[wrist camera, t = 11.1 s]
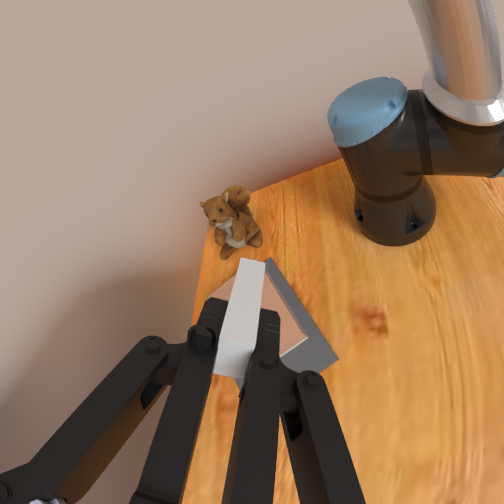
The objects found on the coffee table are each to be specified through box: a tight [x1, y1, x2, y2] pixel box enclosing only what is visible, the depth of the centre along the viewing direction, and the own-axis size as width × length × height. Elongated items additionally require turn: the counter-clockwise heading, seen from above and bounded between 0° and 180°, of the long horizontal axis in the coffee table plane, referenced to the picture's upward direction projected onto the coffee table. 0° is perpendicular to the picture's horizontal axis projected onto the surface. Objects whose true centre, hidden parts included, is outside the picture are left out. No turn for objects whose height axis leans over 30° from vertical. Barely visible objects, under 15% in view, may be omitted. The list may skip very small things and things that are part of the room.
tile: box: [208, 258, 308, 357], centre depth 46 cm, size 2×12×18 cm
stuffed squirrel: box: [200, 184, 262, 259], centre depth 57 cm, size 10×14×13 cm
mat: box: [235, 257, 338, 391], centre depth 45 cm, size 24×16×1 cm, turn 24°
